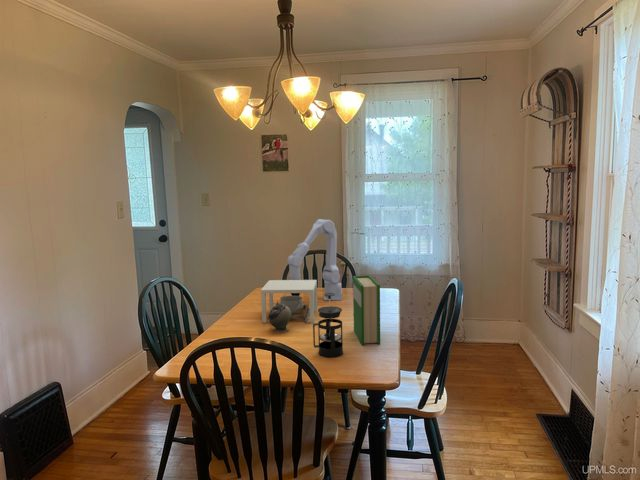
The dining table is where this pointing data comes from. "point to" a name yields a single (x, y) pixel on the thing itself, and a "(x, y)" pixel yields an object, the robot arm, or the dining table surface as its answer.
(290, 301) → the teacup
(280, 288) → the shelf
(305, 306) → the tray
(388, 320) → the dining table surface
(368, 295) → the hardback book
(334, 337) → the french press
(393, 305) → the dining table surface
